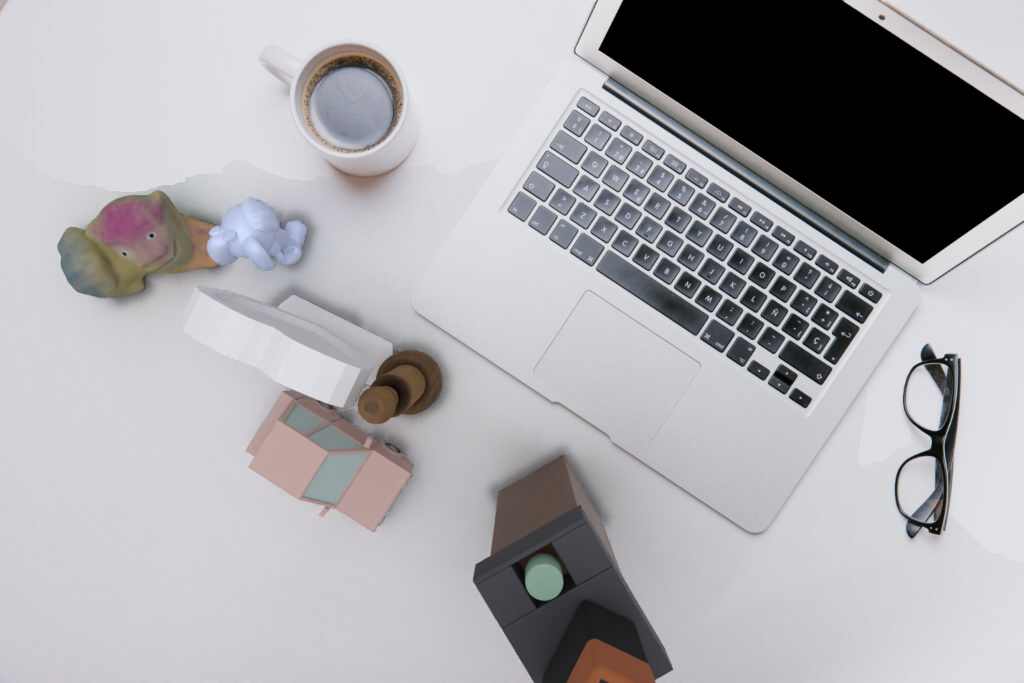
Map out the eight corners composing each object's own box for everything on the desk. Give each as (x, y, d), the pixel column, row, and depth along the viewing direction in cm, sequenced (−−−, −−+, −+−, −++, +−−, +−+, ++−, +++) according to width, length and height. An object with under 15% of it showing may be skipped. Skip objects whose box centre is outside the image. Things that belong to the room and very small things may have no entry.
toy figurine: (318, 215, 69) (276, 197, 57) (311, 277, 70) (267, 272, 58) (253, 206, 69) (196, 186, 57) (245, 267, 70) (188, 260, 58)
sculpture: (109, 316, 70) (40, 318, 60) (74, 241, 70) (-1, 231, 60) (235, 259, 70) (187, 252, 60) (200, 183, 69) (146, 163, 59)
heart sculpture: (409, 351, 69) (362, 363, 51) (388, 394, 70) (335, 421, 52) (276, 285, 70) (183, 275, 52) (256, 329, 70) (157, 333, 52)
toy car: (379, 526, 71) (356, 563, 61) (258, 449, 71) (214, 473, 61) (427, 453, 71) (411, 479, 61) (304, 375, 70) (268, 387, 60)
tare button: (568, 577, 48) (570, 589, 46) (536, 595, 48) (537, 608, 46) (550, 546, 47) (551, 557, 45) (518, 564, 48) (518, 575, 46)
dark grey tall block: (622, 545, 71) (674, 670, 47) (549, 587, 71) (562, 731, 47) (562, 444, 70) (584, 517, 46) (489, 486, 71) (472, 580, 47)
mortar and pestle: (373, 403, 70) (322, 437, 52) (387, 343, 70) (340, 357, 52) (434, 418, 70) (404, 457, 52) (449, 358, 70) (423, 377, 52)
